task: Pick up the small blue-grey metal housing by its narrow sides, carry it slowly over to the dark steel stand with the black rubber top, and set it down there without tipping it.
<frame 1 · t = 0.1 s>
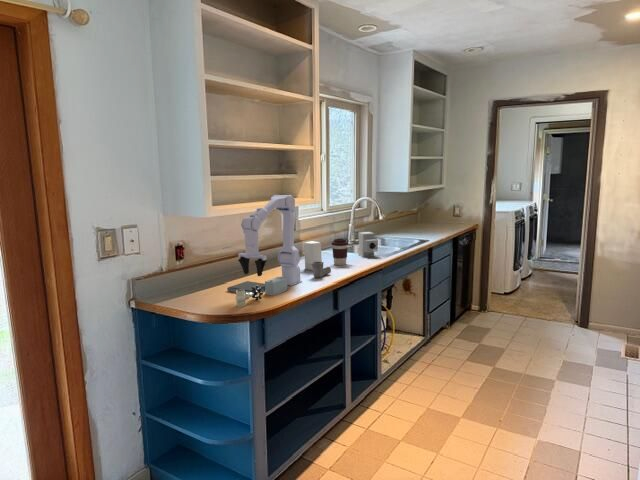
hand: (253, 274, 195), 10 cm above the worktop, tool pointing down, fingers open, 7 cm apart
pipe: (320, 276, 233), on the worktop
skincare box: (313, 269, 251), on the worktop
valve: (247, 303, 187), on the worktop
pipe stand: (249, 289, 208), on the worktop
circuit breaker: (368, 256, 286), on the worktop
coffee cup: (340, 264, 263), on the worktop
housing: (276, 292, 204), on the worktop
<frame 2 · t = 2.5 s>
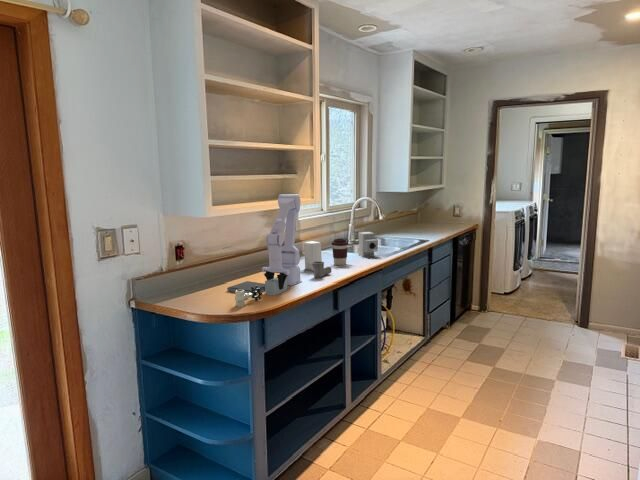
hand: (276, 288, 204), 2 cm above the worktop, tool pointing down, fingers closed on housing, 5 cm apart
housing: (276, 292, 204), on the worktop, touching gripper
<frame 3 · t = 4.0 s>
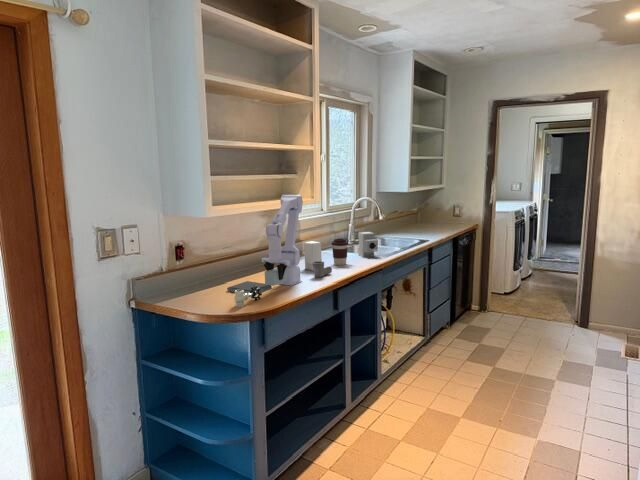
hand: (276, 279, 203), 6 cm above the worktop, tool pointing down, fingers closed on housing, 5 cm apart
housing: (276, 282, 203), point 4 cm above the worktop, touching gripper
everything else where it was.
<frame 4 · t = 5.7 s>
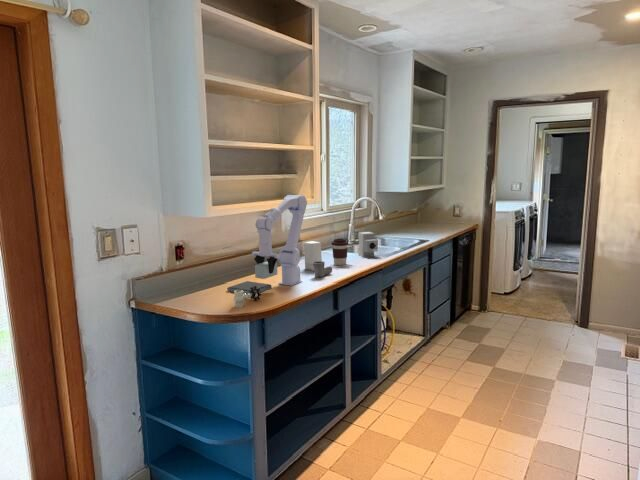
hand: (266, 272, 204), 9 cm above the worktop, tool pointing down, fingers closed on housing, 5 cm apart
housing: (266, 276, 204), point 7 cm above the worktop, touching gripper
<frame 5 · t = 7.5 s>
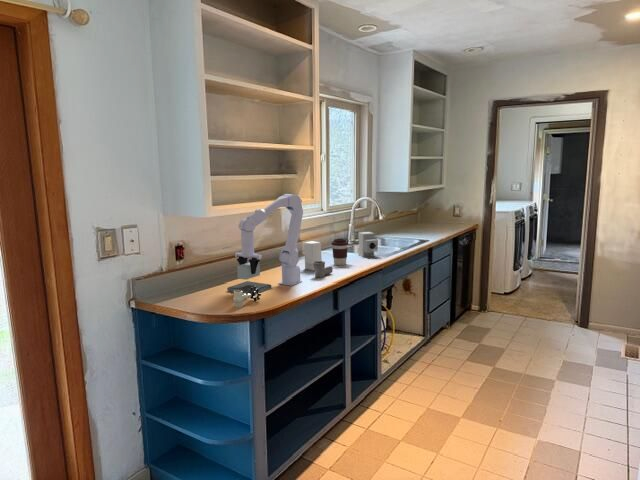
hand: (248, 273, 207), 8 cm above the worktop, tool pointing down, fingers closed on housing, 5 cm apart
housing: (249, 276, 207), point 6 cm above the worktop, touching gripper
when the fingers open (5 cm above the worktop, at t = 9.1 s): housing stays where it is, resting on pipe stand.
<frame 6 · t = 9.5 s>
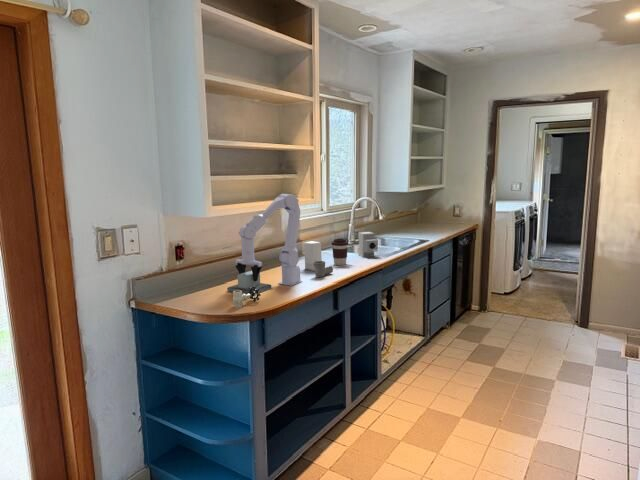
hand: (249, 280, 208), 5 cm above the worktop, tool pointing down, fingers open, 7 cm apart
housing: (249, 285, 208), point 2 cm above the worktop, touching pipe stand
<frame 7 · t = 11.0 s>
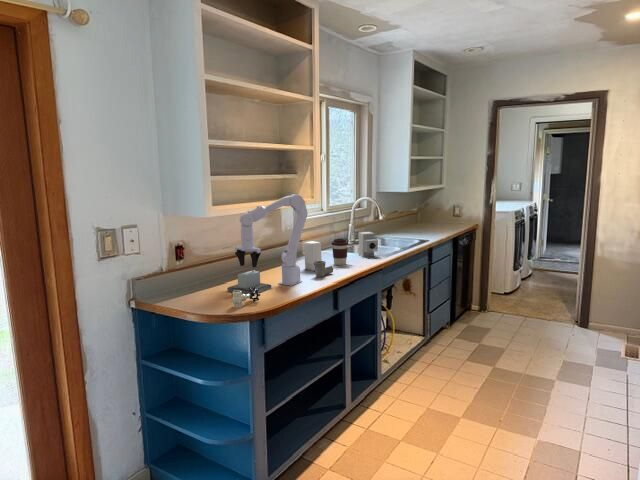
hand: (248, 266, 213), 10 cm above the worktop, tool pointing down, fingers open, 7 cm apart
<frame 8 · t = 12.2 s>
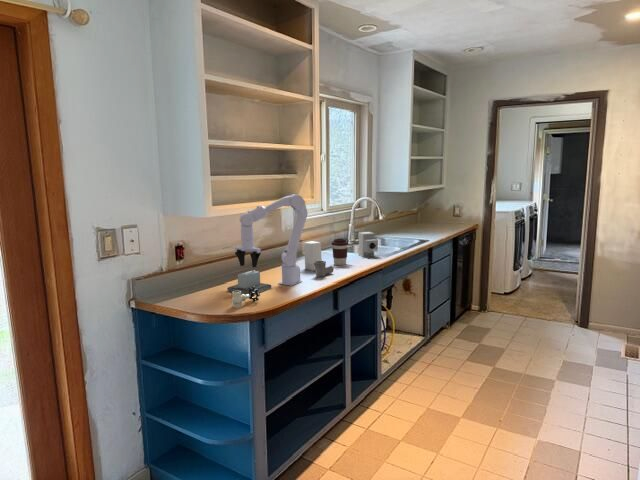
hand: (248, 266, 213), 10 cm above the worktop, tool pointing down, fingers open, 7 cm apart
at the end: housing inside the target area on the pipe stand (0.0 cm from its centre), point 2.0 cm above the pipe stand's base; housing touching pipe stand; housing tilted 0° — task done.
